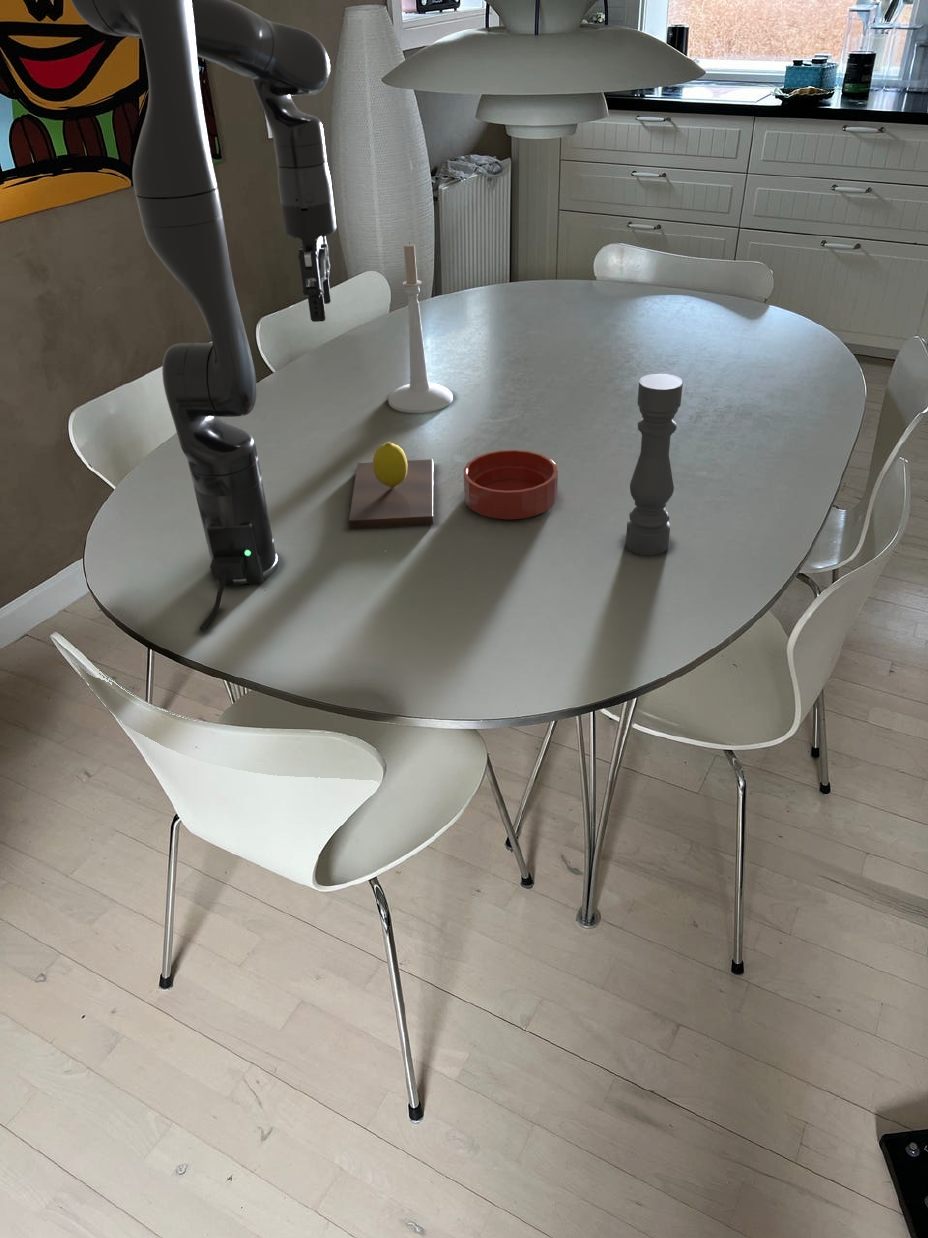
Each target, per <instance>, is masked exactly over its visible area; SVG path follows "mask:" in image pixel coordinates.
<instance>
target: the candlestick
mask: <svg viewBox="0 0 928 1238" xmlns="http://www.w3.org/2000/svg"><path fill="white" fill-rule="evenodd" d="M403 252H404V253H403V254H404V264H405V266H404V268H405V280H404V281H402V285H403V286H404V287H405V294H407V297H408V302H407V305H408V306H407V307H408V338H409V339H408V340H409V341H408V343H409V344H408V345H409V379H410V380H409V384H404V385H402V386H399V387H397V388H396V389H394V391H392V393H390V395H389V396H388V398H387V399H388V400H387V401H388V405H389V406H390V408H392V409H393V410H396V411H398V412H401V413H410V414H424V413H431V412H435V411H439V410H442V409H445V408H446V407H448V406H449V405H450V404H452V402H453V400H454V399H453V398H454V396H453V392H452V391H450V390H449V388H447V387H445V386H443V385H441V384H438V383H435V382H430V381H429V375H428V368H427V359H426V352H425V344H424V334H423V327H422V317H421V310H420V309H421V308H420V302H419V300H418V296H419V294H420V292H421V289H420V286H421V284H422V283H423V282H422V280H419V279H418V271H417V259H416V245H415V243H410V242H408V243H406V244H403Z"/></svg>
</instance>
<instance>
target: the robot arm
mask: <svg viewBox="0 0 928 1238" xmlns="http://www.w3.org/2000/svg"><path fill="white" fill-rule="evenodd" d="M70 2H71V4H72V6H73V8H74V10H75V11H76V12H77V14H78V15H79V16H80V18H81V19H82V20H83V21H84V22H85V23H86V24H88V26H90V27H91V28H93V29H94V30H96V31H98V32H100V33H103V34H105V35H110V36H114V37H120V38H121V37H131V38H136V39H141V42H142V47H143V51H144V57H145V64H146V71H147V79H148V80H147V81H148V100H147V108H146V112H145V117H144V120H143V124H142V126H141V130H140V133H139V138H138V142H137V145H136V149H135V153H134V156H133V162H132V163H133V164H132V184H133V189H134V195H135V200H136V203H137V208H138V212H139V217H140V221H141V225H142V229H143V233H144V236H145V239H146V241H147V242H148V244H149V246H150V248H151V250H152V251H153V253H154V254H155V255H156V257H157V258H158V259H159V261H160V262H161V263H162V265H163V266H164V267H165V268H166V270H168V272H169V273H170V275H172V276H173V278H174V279H175V280H176V281H177V283H179V284H180V286H181V287H182V288H183V289H184V290H185V292H186V293H187V295H188V296H189V297H190V298H191V300H192V301H193V303H194V304H195V305H196V307H197V309H198V310H199V312H200V314H201V316H202V319H203V321H204V323H205V325H206V328H207V331H208V334H209V337H210V340H211V342H178V343H174V344H172V345H171V346H169V347H168V348H167V350H166V351H165V353H164V356H163V360H162V365H161V366H162V368H161V372H162V374H161V375H162V383H163V387H164V388H163V389H164V394H165V397H166V400H167V405H168V408H169V411H170V415H171V418H172V420H173V424H174V427H175V431H176V434H177V438H178V441H179V444H180V448H181V451H182V452H183V455H184V456H185V458H186V460H187V464H188V469H189V472H190V476H191V480H192V485H193V490H194V494H195V499H196V502H197V507H198V510H199V515H200V520H201V524H202V529H203V532H204V537H205V541H206V545H207V550H208V553H209V557H210V562H211V563H210V571H211V574H212V579H213V580H214V581H216V580H217V581H218V589H217V593H216V597H215V602H214V604H213V605H214V606H213V608H212V610H211V612H210V614H209V615H208V617H206V619H205V620H204V621H203V622H202V624H201V625H200V626H199V631H201V632H204V631H205V630H206V629H207V628H208V626H210V624H211V623H212V622H213V620H214V619H215V618H216V616H217V614H218V612H219V609H220V606H221V603H222V598H223V594H224V590H225V587H226V586H234V585H235V586H237V585H238V586H239V585H255V584H256V585H257V584H262V583H263V582H264V580H265V579H266V578H268V577H270V576H271V575H272V574H274V573H275V572H276V570H277V569H278V566H279V560H278V555H277V552H276V547H275V541H274V536H273V531H272V525H271V519H270V515H269V510H268V505H267V499H266V494H265V488H264V484H263V477H262V472H261V467H260V461H259V456H258V450H257V445H256V441H255V439H254V437H253V436H252V435H251V434H250V433H249V432H247V431H245V430H244V429H241V428H238V427H237V426H233V425H232V424H229V423H227V422H225V421H224V420H222V419H221V418H237V417H239V418H240V417H245V416H247V415H249V414H251V412H252V411H253V410H254V408H255V405H256V401H257V391H258V390H257V389H258V388H257V377H256V371H255V364H254V360H253V356H252V351H251V348H250V343H249V339H248V336H247V333H246V328H245V325H244V321H243V317H242V313H241V309H240V305H239V300H238V297H237V296H238V295H237V293H236V288H235V283H234V277H233V273H232V265H231V261H230V256H229V249H228V242H227V235H226V228H225V222H224V215H223V210H222V204H221V198H220V193H219V187H218V182H217V181H218V180H217V178H216V173H215V168H214V163H213V159H212V154H211V147H210V141H209V135H208V130H207V129H208V128H207V123H206V117H205V111H204V103H203V97H202V96H203V95H202V90H201V89H202V88H201V80H200V69H199V62H198V61H199V60H198V57H199V58H201V59H203V60H206V61H208V62H210V63H213V64H215V65H217V66H219V67H221V68H224V69H226V70H228V71H231V72H233V73H235V74H237V75H240V76H242V77H244V78H247V79H250V80H251V81H252V85H253V87H254V89H255V92H256V95H257V97H258V99H259V102H260V104H261V107H262V110H263V112H264V116H265V117H266V121H267V123H268V126H269V129H270V131H271V134H272V139H273V141H272V142H273V147H274V154H275V159H276V160H275V161H276V168H277V186H278V187H277V188H278V194H279V201H280V207H281V214H282V215H281V216H282V222H283V229H284V233H285V235H286V236H287V237H290V238H294V239H296V238H297V239H300V240H301V245H300V248H299V249H298V256H297V257H298V259H299V260H298V261H299V267H300V276H301V281H302V293H303V296H304V297H305V296H306V297H307V300H308V308H309V316H310V317H309V318H310V320H311V321H312V322H313V323H317V322H318V323H320V322H324V321H326V319H327V315H326V305H329V304H330V303H331V302H332V295H331V287H330V281H329V278H330V274H331V273H330V272H331V271H330V269H331V264H330V257H329V245H328V243H327V236H330V235H332V234H333V233H335V232H336V230H337V221H336V212H335V202H334V193H333V187H332V185H333V184H332V178H331V174H330V170H329V165H328V158H327V150H326V149H327V148H326V140H325V132H324V127H323V124H322V121H321V119H319V118H318V117H317V116H315V115H312V114H309V113H306V112H303V111H301V110H300V109H299V108H298V107H297V106H296V104H295V103H294V101H293V98H292V96H314V95H316V94H318V93H320V92H321V91H322V90H323V89H324V88H325V87H326V85H327V83H328V81H329V78H330V73H331V63H330V58H329V54H328V52H327V50H326V48H325V46H324V45H323V43H322V41H320V40H319V39H318V38H317V36H315V35H314V34H312V33H310V32H309V31H307V30H305V29H301V28H297V27H294V26H291V25H287V24H283V23H279V22H274V21H271V20H268V19H267V18H264V17H263V16H261V15H260V14H259V13H256V12H255V11H252V10H251V9H249V8H247V7H245V6H244V5H242V4H240V3H237V2H235V1H233V0H70ZM311 282H313V284H314V285H313V286H311V285H310V283H311Z"/></svg>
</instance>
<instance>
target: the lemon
mask: <svg viewBox="0 0 928 1238" xmlns="http://www.w3.org/2000/svg"><path fill="white" fill-rule="evenodd" d="M407 461H408V460H407V456H406V454H405V451H404V450H403V449H402V447H400V446H399V445H398V444H395V443H392V442H391V441H387V442H385V443H384V444H381V445H380V446H379V447H378V448H377V449H376V450H375V452H374V455H373V458H372V462H373V469H374V473H375V476H376V478H377V479H378V481H379V482H380V483H382V484H383V485H386V486H389V487H390V488H394V487H395V486H396V485H398V484H400V483H401V482H402V481H403V480H404V479H405V477H406V475H407V469H408V464H407Z"/></svg>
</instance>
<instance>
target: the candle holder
mask: <svg viewBox="0 0 928 1238" xmlns="http://www.w3.org/2000/svg"><path fill="white" fill-rule="evenodd" d="M683 384H684V381H683V379H681V378H680V376H676V375H673V374H669V373H651V374H646V375H644V376H642V377H640V379H639V380H638V391H637V406H638V409H639V410H638V411H639V413H640V414H641V417H642V418H641V419H640V420H639V421H638V422H637V430H638V431H639V432H640V434H641V441H640V443H641V444H640V452H639V455H638V459H637V462H636V465H635V468H634V471H633V474H632V477H631V480H630V482H629V490H630V491H629V492H630V496H631V498H632V499H633V500H634V507H633V509H632V510H631V511H630V512H629V514H628V516H629V520H628V521H627V523H626V534H625V535H626V536H625V547H626V548H627V549H628V551H630V552H632V553H634V554H636V555H641V556H656V555H661V554H662V553H664V552H666V551H667V549H668V548H669V543H670V542H669V541H670V534H671V533H670V532H671V525H670V522H669V521H670V513H669V512H668V511H667V509H666V508H665V507H667V503H668V502H669V500H670V499H671V497H672V496H673V494H674V492H675V491H674V490H675V485H674V479H673V473H672V467H671V460H670V446H671V436H672V435H673V434H674V433H675V432H676V430H677V429H678V428H677V427H678V425H677V422H676V421H674V420H673V419H674V418H675V416H676V415H677V413H678V411H679V408H680V407H681V406H682V405H681V403H682V393H683Z"/></svg>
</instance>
